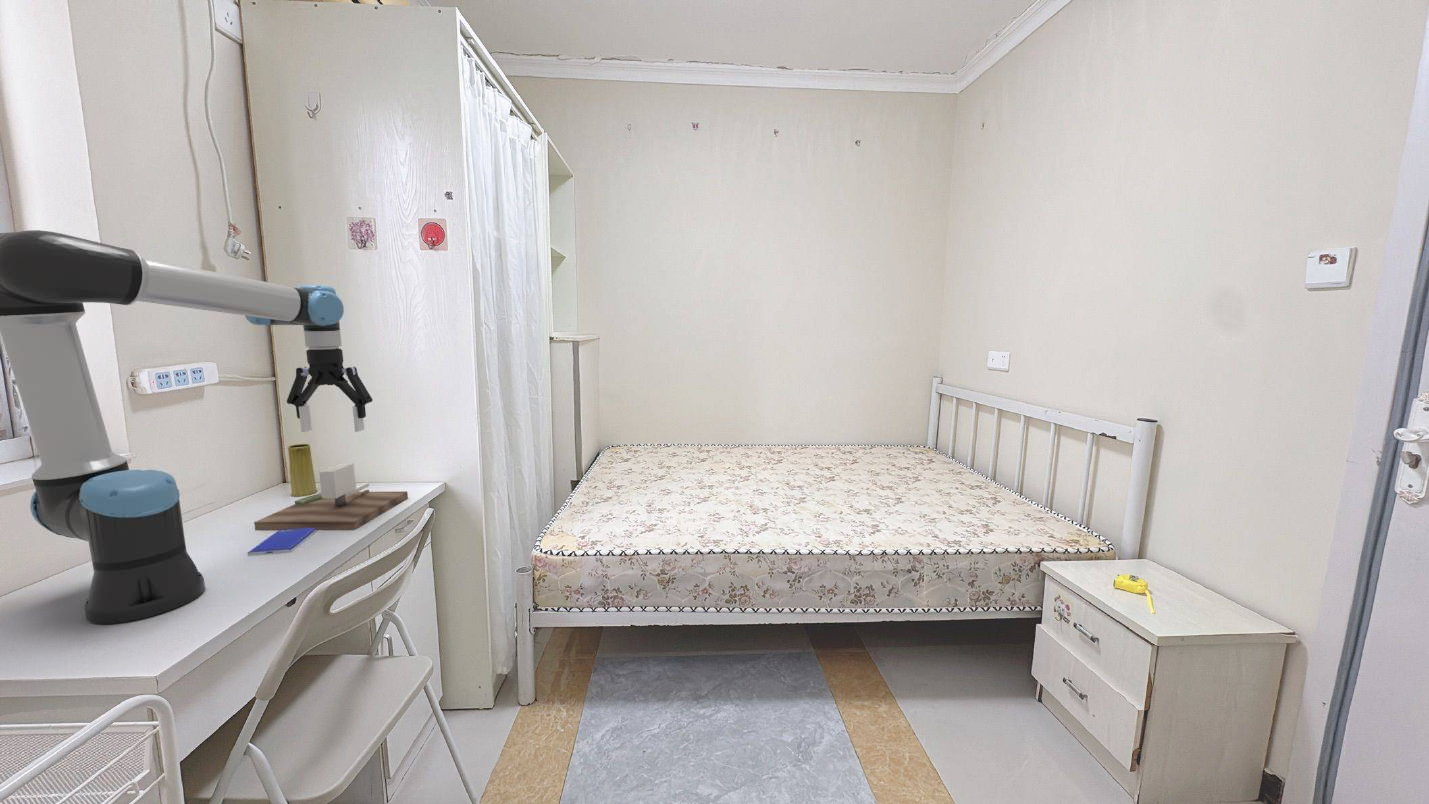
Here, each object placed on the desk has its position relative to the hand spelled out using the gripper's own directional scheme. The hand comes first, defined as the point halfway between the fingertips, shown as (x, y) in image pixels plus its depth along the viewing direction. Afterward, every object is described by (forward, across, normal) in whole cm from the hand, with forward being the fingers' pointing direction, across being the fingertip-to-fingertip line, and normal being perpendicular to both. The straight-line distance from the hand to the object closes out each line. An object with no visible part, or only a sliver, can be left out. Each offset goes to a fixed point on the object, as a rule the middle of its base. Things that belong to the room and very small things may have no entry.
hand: (333, 430), depth 144 cm
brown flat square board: (+22, +1, 0) cm, 22 cm away
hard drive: (+23, 0, +20) cm, 30 cm away
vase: (+22, +22, -17) cm, 35 cm away
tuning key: (+20, 0, -4) cm, 20 cm away
